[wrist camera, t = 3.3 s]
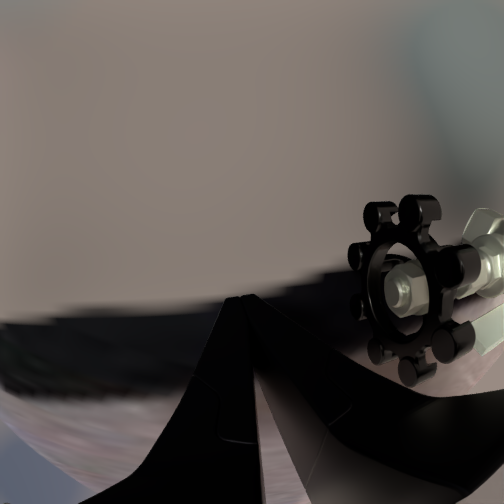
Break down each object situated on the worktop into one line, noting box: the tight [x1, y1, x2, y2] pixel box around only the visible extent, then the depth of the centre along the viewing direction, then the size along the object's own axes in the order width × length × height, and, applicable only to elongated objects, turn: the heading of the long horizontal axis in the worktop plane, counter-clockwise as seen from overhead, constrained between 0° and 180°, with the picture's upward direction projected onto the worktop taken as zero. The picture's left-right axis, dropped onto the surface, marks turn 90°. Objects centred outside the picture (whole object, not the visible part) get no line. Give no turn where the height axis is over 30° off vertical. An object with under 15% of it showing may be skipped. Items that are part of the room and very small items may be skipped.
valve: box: [347, 194, 504, 387], centre depth 9 cm, size 7×7×12 cm
